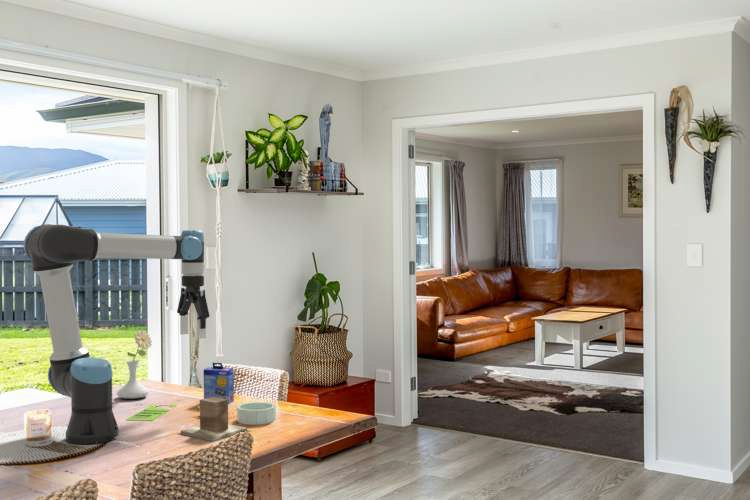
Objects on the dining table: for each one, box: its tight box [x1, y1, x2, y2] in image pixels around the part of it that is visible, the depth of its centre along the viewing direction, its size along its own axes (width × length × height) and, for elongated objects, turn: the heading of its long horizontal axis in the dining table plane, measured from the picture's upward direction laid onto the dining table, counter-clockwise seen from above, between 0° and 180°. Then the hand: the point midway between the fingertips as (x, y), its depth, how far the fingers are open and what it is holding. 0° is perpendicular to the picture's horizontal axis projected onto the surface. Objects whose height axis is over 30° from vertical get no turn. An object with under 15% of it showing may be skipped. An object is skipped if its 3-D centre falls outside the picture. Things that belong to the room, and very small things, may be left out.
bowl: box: [236, 401, 277, 426], centre depth 266 cm, size 12×12×5 cm
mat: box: [177, 429, 251, 443], centre depth 250 cm, size 16×16×1 cm
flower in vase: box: [116, 329, 153, 400], centre depth 305 cm, size 13×11×25 cm
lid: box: [180, 397, 248, 441], centre depth 250 cm, size 14×14×10 cm
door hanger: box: [125, 403, 177, 422], centre depth 282 cm, size 9×1×25 cm
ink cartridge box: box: [203, 362, 235, 405], centre depth 297 cm, size 10×6×14 cm, turn 79°
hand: (192, 336), depth 285 cm, fingers open, 13 cm apart
